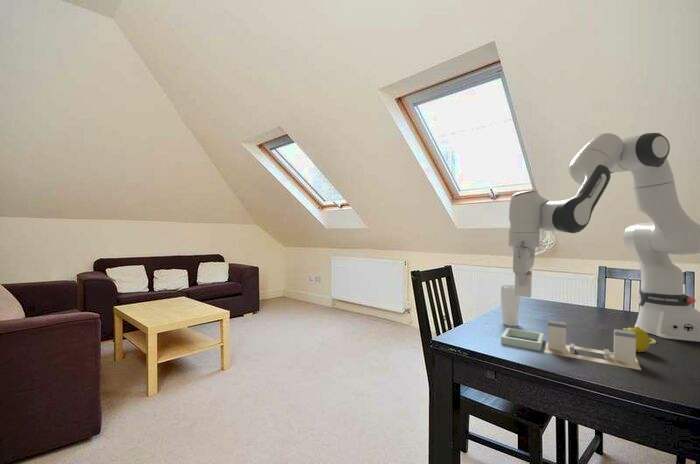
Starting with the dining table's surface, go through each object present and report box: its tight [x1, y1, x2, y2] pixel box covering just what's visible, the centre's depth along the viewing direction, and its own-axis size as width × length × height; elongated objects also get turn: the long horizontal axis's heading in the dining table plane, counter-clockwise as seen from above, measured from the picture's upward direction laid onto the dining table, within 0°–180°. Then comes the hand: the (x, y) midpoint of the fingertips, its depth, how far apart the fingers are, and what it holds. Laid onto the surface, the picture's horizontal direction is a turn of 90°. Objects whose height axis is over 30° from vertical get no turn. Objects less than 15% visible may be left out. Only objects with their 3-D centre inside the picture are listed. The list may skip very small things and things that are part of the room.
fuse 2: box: [613, 328, 637, 364], centre depth 94 cm, size 4×3×8 cm, turn 56°
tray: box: [500, 327, 545, 351], centre depth 110 cm, size 11×11×3 cm
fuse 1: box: [547, 319, 567, 352], centre depth 103 cm, size 4×3×8 cm, turn 56°
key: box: [622, 327, 657, 345], centre depth 115 cm, size 7×12×2 cm, turn 178°
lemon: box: [628, 327, 651, 353], centre depth 101 cm, size 6×6×8 cm
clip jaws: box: [569, 342, 611, 360], centre depth 99 cm, size 9×4×2 cm, turn 56°
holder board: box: [543, 341, 642, 371], centre depth 99 cm, size 22×11×1 cm, turn 56°
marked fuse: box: [514, 270, 533, 298], centre depth 109 cm, size 4×3×8 cm, turn 56°
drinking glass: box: [500, 284, 521, 327], centre depth 129 cm, size 7×7×15 cm
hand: (523, 284), depth 109 cm, fingers closed on marked fuse, 3 cm apart
